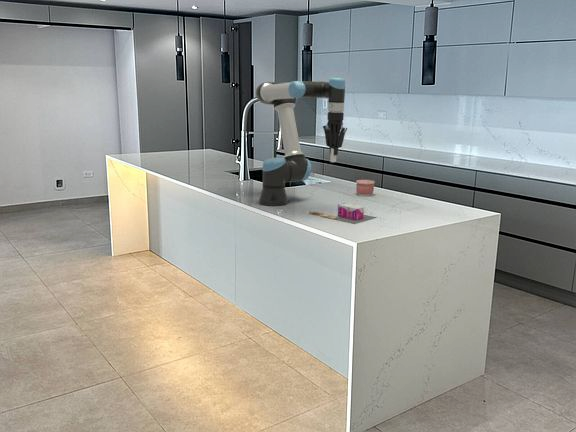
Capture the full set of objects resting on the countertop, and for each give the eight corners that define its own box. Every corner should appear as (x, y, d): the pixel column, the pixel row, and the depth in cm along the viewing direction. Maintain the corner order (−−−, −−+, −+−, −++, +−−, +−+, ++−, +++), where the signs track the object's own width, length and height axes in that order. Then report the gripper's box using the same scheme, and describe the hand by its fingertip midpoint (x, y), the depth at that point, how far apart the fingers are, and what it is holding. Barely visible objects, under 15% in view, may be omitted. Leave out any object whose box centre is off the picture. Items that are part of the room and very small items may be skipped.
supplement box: (337, 204, 262) (356, 208, 254) (345, 202, 266) (364, 206, 259) (337, 216, 264) (356, 220, 256) (344, 214, 268) (364, 218, 260)
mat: (331, 219, 259) (331, 218, 258) (354, 213, 272) (354, 212, 272) (354, 224, 250) (354, 223, 250) (376, 218, 263) (376, 217, 263)
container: (363, 197, 312) (364, 183, 310) (351, 194, 321) (352, 180, 319) (377, 195, 318) (378, 181, 316) (365, 192, 326) (366, 179, 324)
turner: (307, 214, 268) (307, 211, 268) (311, 213, 270) (311, 211, 270) (333, 219, 258) (333, 216, 258) (337, 218, 260) (337, 215, 260)
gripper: (319, 111, 262) (317, 160, 268) (341, 113, 253) (339, 164, 259) (329, 110, 267) (327, 159, 273) (351, 112, 259) (348, 162, 265)
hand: (333, 161), depth 266 cm, fingers closed
